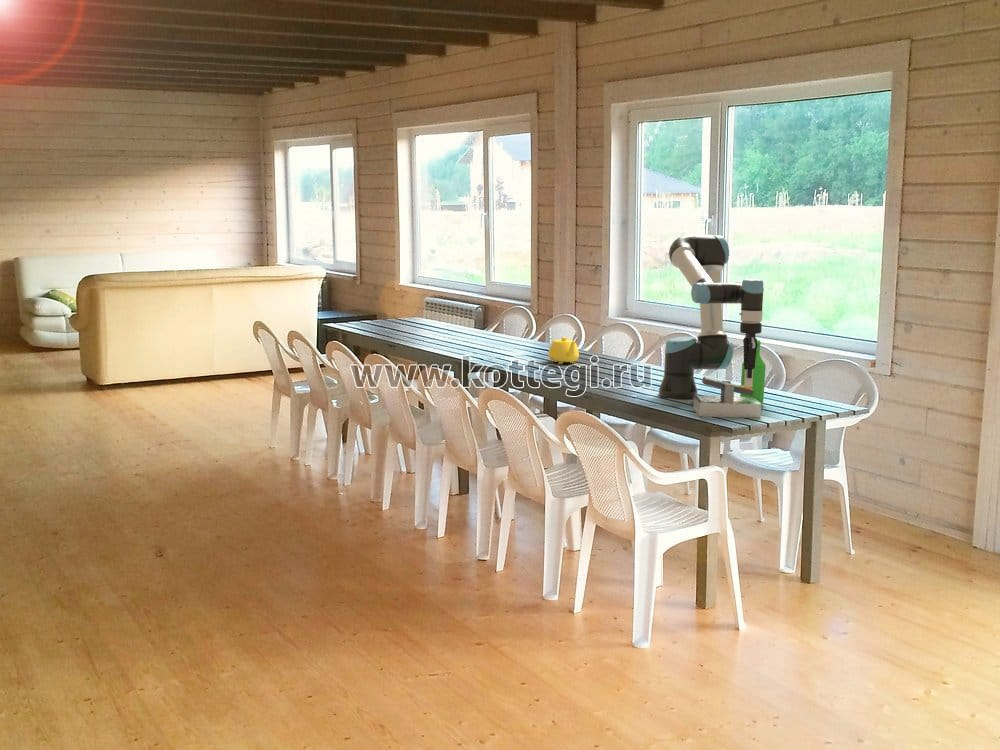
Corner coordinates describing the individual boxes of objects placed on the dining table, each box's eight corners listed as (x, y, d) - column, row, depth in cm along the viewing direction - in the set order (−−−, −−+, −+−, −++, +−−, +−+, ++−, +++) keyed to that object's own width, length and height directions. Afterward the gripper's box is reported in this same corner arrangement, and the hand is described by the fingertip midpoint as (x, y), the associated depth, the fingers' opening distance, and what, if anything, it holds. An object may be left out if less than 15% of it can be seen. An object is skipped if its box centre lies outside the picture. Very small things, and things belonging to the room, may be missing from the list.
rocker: (701, 381, 372) (703, 375, 372) (749, 393, 372) (750, 387, 372) (704, 384, 367) (706, 378, 366) (752, 396, 367) (754, 390, 366)
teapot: (562, 367, 470) (562, 340, 468) (541, 361, 488) (542, 335, 486) (587, 365, 476) (587, 339, 474) (566, 359, 494) (566, 334, 492)
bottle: (736, 402, 392) (740, 338, 388) (758, 402, 393) (762, 338, 389) (743, 406, 384) (747, 341, 379) (766, 406, 384) (770, 341, 380)
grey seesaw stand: (693, 408, 378) (694, 378, 376) (752, 410, 378) (754, 380, 376) (699, 416, 364) (700, 385, 362) (760, 417, 364) (762, 386, 362)
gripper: (737, 320, 372) (734, 383, 375) (744, 323, 359) (741, 389, 362) (757, 320, 372) (754, 383, 375) (765, 323, 359) (762, 389, 362)
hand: (748, 386), depth 369 cm, fingers closed
